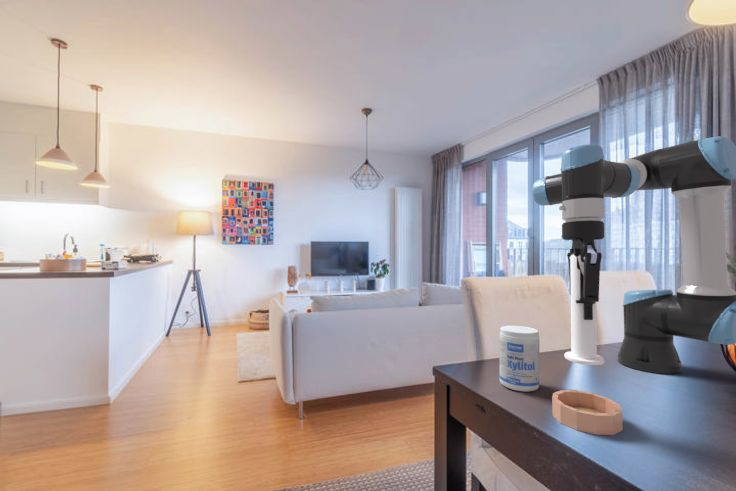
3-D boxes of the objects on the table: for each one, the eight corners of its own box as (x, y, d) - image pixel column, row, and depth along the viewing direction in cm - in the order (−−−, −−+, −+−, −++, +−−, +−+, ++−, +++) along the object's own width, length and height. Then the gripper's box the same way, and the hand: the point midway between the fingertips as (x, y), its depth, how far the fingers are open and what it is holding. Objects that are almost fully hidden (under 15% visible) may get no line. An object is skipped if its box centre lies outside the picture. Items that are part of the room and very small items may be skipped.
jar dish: (596, 406, 77) (595, 390, 77) (637, 434, 65) (637, 415, 65) (542, 406, 77) (541, 390, 77) (573, 434, 65) (573, 415, 65)
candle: (610, 367, 67) (609, 239, 67) (570, 364, 69) (568, 239, 69) (596, 355, 74) (595, 240, 74) (560, 353, 75) (559, 240, 76)
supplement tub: (508, 393, 84) (507, 333, 84) (494, 378, 94) (493, 325, 94) (547, 393, 84) (546, 333, 84) (529, 378, 93) (528, 325, 94)
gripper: (553, 224, 80) (554, 325, 79) (573, 217, 65) (575, 341, 65) (590, 223, 78) (591, 327, 77) (618, 216, 63) (621, 344, 63)
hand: (584, 333), depth 71 cm, fingers closed on candle, 2 cm apart
